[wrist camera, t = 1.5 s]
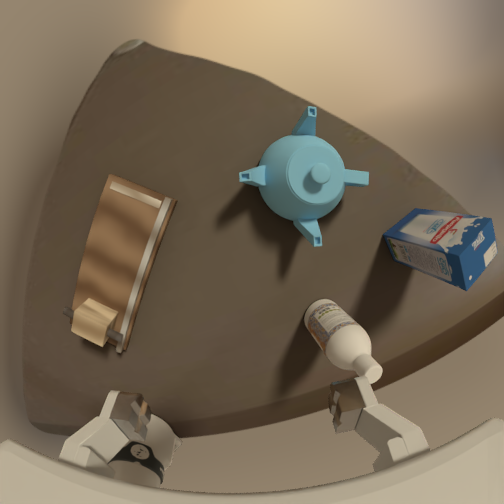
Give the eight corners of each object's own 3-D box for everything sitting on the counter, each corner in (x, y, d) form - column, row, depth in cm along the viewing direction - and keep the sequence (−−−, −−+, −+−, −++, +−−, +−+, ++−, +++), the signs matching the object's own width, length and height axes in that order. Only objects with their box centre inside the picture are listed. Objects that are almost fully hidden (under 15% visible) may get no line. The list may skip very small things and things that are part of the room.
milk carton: (415, 208, 48) (491, 218, 28) (425, 233, 49) (498, 252, 30) (382, 234, 48) (459, 256, 28) (393, 261, 49) (466, 291, 30)
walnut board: (128, 344, 46) (123, 354, 42) (74, 318, 43) (66, 326, 40) (177, 200, 42) (174, 200, 39) (113, 174, 40) (106, 173, 36)
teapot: (297, 244, 46) (320, 257, 36) (231, 180, 43) (236, 175, 32) (354, 181, 45) (388, 178, 35) (295, 118, 42) (317, 97, 31)
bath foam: (295, 317, 49) (339, 382, 29) (323, 290, 48) (382, 342, 29) (317, 338, 50) (364, 403, 31) (344, 313, 50) (402, 368, 30)
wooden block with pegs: (126, 336, 43) (116, 353, 37) (74, 310, 41) (59, 324, 35) (131, 317, 43) (121, 333, 37) (77, 292, 41) (61, 304, 35)
